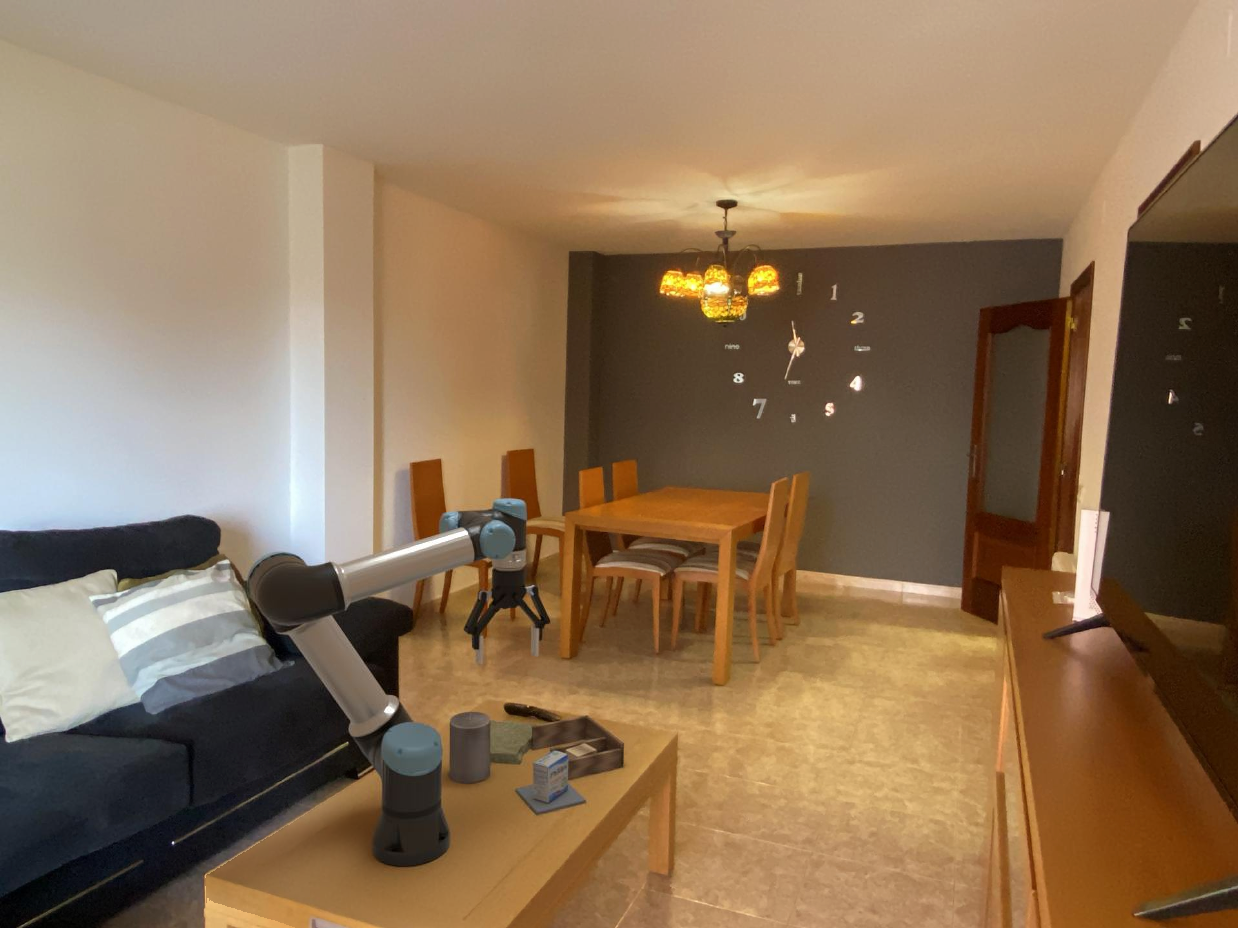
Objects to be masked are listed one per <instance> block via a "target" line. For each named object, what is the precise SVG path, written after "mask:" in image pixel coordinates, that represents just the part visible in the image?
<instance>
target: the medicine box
mask: <svg viewBox="0 0 1238 928" xmlns="http://www.w3.org/2000/svg"><path fill="white" fill-rule="evenodd" d="M532 764H533V765H532V770H533V771H532V785H533V798H534V799H537V800H540V801H543V802H546V803H550V802H551V801H553V800H554V799H555V798H557V797H558V796H559V795H561V794H562V793H563V792H565V791H566V790H567V789H568V783H569V780H568V754H565V753H562V752H559V751H555V750H553V751H552V752H550V751H549V752H548V753H547V754H545V755H543V756H542V757H540V758H539V759H537V760H535V761H534V762H532Z"/></svg>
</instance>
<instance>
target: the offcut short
mask: <svg viewBox="0 0 1238 928" xmlns="http://www.w3.org/2000/svg"><path fill="white" fill-rule="evenodd" d="M596 753H597V750H596V749H594V748H592V747H591V746H589V745H587V744H585V743H584V744H581V745H578V746H575V747H572V748H569V749H566V751H565V754H568V760H569V759H573V758H578V757H582V756H587V755H591V754H596Z"/></svg>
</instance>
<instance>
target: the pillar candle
mask: <svg viewBox="0 0 1238 928" xmlns="http://www.w3.org/2000/svg"><path fill="white" fill-rule="evenodd" d="M491 720H492V719H491V716H490V715H488V714H487V713H484V712H480V711H465V712H460V713H457V714H454V715H453V716H452V717H450V720H449V766H448V767H449V771H448V773H449V778H450V779H451V780H452V781H453V782H455V783H460V784H473V783H478V782H481V781H482V782H483V781H485V780H486V779H487V778H489V777H490V774H491V763H490V755H491V754H490V724H491V723H490V721H491Z"/></svg>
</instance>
